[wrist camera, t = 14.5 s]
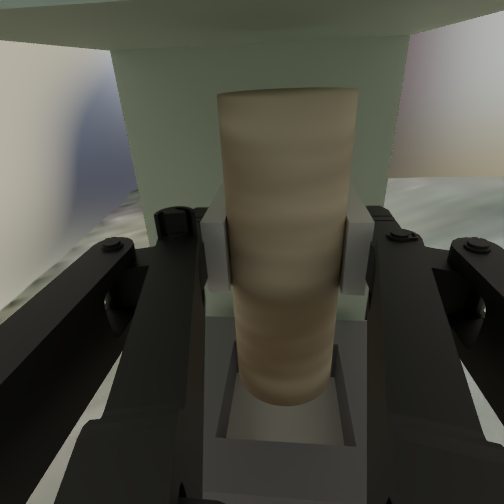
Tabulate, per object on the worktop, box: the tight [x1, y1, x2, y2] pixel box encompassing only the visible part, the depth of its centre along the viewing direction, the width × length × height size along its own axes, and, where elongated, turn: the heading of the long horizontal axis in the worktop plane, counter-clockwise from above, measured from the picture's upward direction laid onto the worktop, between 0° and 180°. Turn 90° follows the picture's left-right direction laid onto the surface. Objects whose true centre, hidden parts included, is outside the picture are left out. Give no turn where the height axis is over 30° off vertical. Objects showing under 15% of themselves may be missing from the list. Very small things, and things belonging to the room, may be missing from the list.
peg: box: [217, 87, 359, 406], centre depth 12 cm, size 4×4×11 cm
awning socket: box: [0, 0, 504, 504], centre depth 14 cm, size 15×13×18 cm
